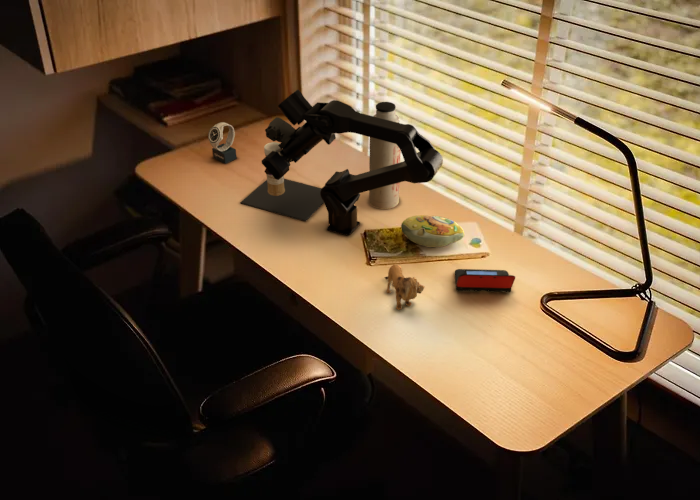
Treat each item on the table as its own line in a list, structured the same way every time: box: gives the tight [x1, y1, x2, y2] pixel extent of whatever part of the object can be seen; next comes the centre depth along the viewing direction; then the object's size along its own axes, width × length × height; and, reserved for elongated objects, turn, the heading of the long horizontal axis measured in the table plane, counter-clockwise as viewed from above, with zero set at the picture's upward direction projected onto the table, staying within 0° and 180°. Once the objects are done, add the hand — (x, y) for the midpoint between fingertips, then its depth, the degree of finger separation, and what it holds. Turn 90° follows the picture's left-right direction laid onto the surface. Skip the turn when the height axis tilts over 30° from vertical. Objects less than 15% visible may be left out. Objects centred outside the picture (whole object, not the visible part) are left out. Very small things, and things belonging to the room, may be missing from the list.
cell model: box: [400, 214, 465, 248], centre depth 195 cm, size 11×8×15 cm
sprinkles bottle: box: [263, 141, 285, 196], centre depth 201 cm, size 5×5×13 cm
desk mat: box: [240, 178, 325, 222], centre depth 214 cm, size 20×16×1 cm
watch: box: [207, 121, 238, 165], centre depth 229 cm, size 6×8×11 cm
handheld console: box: [454, 268, 516, 293], centre depth 179 cm, size 12×11×7 cm
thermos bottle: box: [368, 101, 402, 210], centre depth 204 cm, size 8×8×28 cm
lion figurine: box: [384, 263, 425, 311], centre depth 176 cm, size 15×5×9 cm, turn 25°
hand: (270, 168), depth 202 cm, fingers closed on sprinkles bottle, 4 cm apart
